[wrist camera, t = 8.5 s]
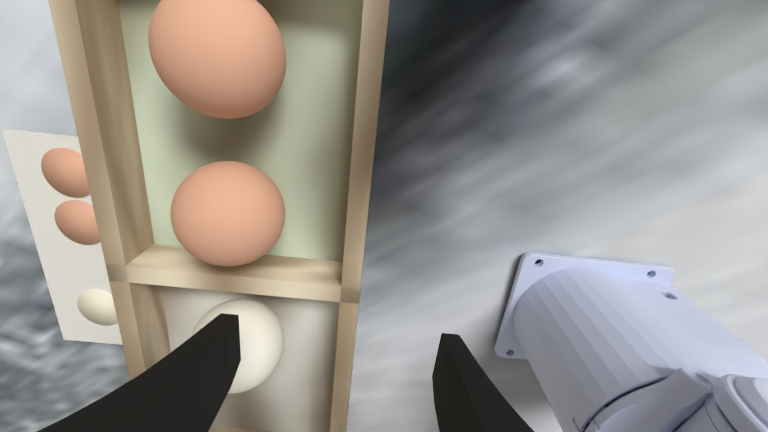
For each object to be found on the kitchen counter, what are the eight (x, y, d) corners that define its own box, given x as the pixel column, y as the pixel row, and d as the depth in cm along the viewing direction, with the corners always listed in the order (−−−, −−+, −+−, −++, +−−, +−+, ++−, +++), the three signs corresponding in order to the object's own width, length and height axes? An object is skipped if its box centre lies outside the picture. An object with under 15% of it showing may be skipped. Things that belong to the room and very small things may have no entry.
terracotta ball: (296, 156, 19) (267, 185, 14) (294, 242, 21) (268, 292, 16) (198, 145, 18) (136, 171, 14) (205, 233, 20) (153, 282, 16)
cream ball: (294, 286, 22) (269, 345, 17) (292, 350, 24) (270, 419, 19) (210, 278, 21) (162, 336, 17) (215, 343, 23) (174, 411, 19)
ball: (299, 1, 16) (264, -25, 11) (297, 116, 18) (266, 134, 13) (184, -13, 16) (101, -46, 11) (195, 105, 18) (127, 119, 13)
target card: (123, 141, 19) (118, 143, 19) (157, 344, 25) (153, 348, 24) (7, 128, 19) (0, 130, 19) (67, 336, 24) (62, 340, 24)
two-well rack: (393, -34, 16) (395, -59, 13) (345, 433, 28) (340, 481, 25) (98, -74, 16) (24, -110, 12) (176, 420, 28) (149, 467, 24)
